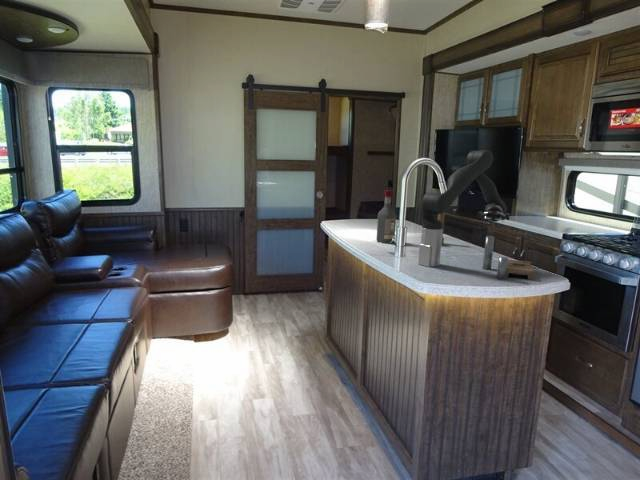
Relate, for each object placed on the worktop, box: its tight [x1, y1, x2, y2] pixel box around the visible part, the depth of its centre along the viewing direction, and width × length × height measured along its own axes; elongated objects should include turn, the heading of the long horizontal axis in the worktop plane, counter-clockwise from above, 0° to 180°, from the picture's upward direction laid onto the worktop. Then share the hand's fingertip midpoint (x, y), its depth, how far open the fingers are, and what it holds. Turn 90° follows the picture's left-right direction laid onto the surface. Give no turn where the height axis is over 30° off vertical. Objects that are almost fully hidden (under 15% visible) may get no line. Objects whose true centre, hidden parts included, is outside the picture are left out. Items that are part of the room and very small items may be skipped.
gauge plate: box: [506, 259, 533, 281], centre depth 197 cm, size 18×10×4 cm, turn 157°
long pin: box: [482, 235, 495, 271], centre depth 202 cm, size 4×4×15 cm
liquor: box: [376, 189, 397, 244], centre depth 258 cm, size 9×9×30 cm
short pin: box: [496, 256, 509, 281], centre depth 187 cm, size 4×4×9 cm
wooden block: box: [437, 212, 446, 245], centre depth 258 cm, size 4×11×18 cm, turn 113°
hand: (492, 217), depth 210 cm, fingers open, 8 cm apart
